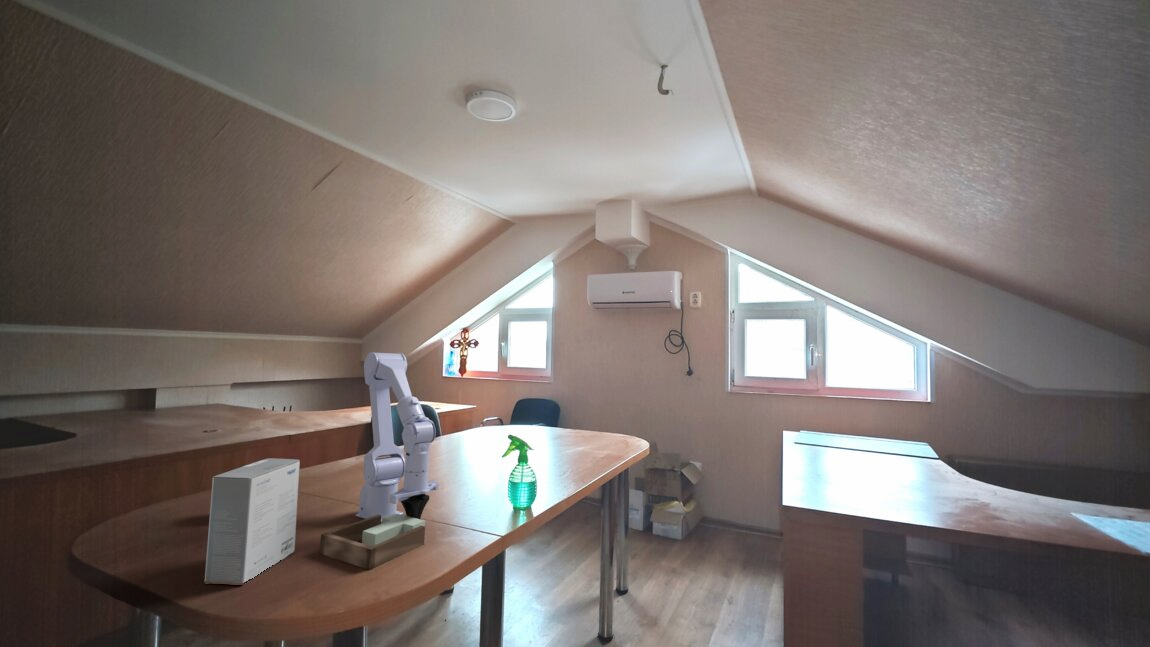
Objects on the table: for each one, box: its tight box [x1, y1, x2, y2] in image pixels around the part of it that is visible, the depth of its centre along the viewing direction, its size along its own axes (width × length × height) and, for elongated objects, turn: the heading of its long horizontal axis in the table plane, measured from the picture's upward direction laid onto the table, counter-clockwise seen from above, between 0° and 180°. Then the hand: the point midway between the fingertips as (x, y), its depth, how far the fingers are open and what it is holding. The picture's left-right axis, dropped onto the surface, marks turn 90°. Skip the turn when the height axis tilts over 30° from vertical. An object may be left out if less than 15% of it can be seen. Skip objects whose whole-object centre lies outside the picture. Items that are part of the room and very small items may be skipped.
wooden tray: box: [319, 515, 426, 571], centre depth 104 cm, size 15×15×4 cm
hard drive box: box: [204, 457, 301, 583], centre depth 93 cm, size 16×8×20 cm, turn 178°
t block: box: [361, 513, 426, 546], centre depth 108 cm, size 10×12×4 cm
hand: (413, 526), depth 114 cm, fingers closed
